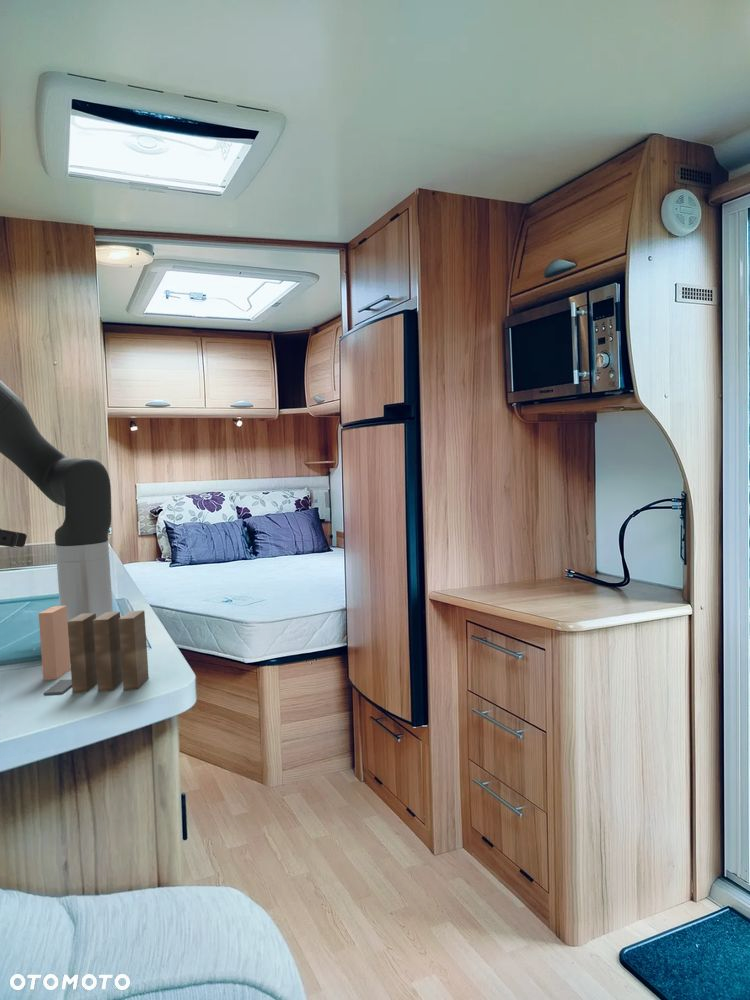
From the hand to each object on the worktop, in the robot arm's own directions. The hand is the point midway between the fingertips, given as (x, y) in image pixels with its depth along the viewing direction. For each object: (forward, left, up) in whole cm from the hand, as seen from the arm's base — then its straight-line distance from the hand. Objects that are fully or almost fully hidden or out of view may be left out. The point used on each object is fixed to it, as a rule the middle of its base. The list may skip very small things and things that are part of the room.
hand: (21, 540), depth 104 cm
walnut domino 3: (+15, +15, -20) cm, 29 cm away
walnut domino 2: (+13, +11, -20) cm, 27 cm away
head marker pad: (+11, +5, -20) cm, 24 cm away
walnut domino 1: (+12, +8, -20) cm, 25 cm away
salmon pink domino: (+3, +4, -20) cm, 21 cm away
